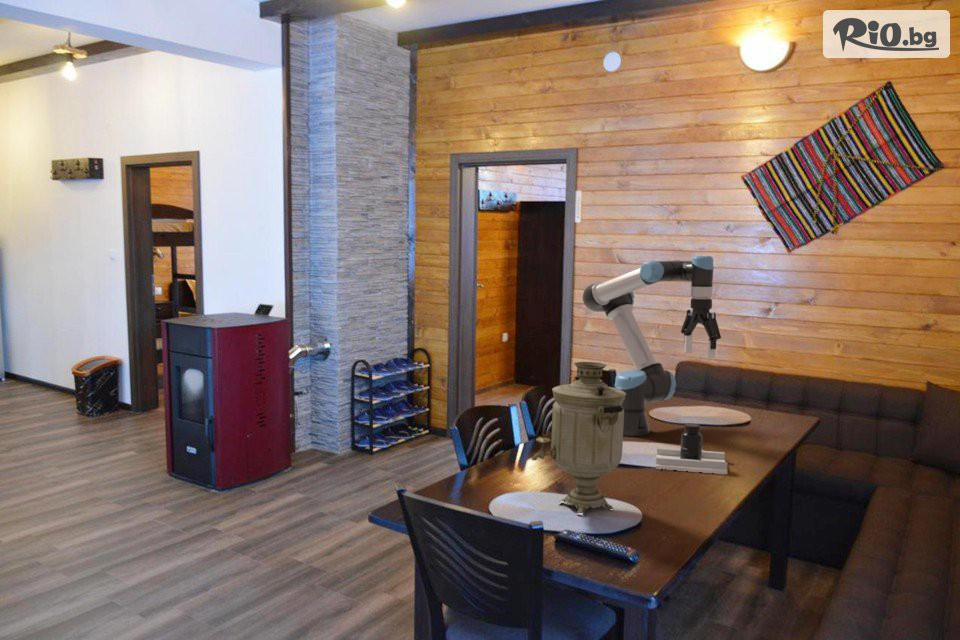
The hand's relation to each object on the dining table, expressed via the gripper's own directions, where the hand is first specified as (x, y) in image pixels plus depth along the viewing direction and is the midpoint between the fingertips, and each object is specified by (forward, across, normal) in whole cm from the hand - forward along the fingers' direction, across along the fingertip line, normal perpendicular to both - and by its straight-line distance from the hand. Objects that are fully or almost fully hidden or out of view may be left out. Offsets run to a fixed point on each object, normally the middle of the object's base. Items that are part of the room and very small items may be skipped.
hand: (699, 355), depth 272 cm
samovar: (+32, -48, +76) cm, 96 cm away
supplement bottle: (+30, -26, +22) cm, 46 cm away
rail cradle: (+32, -26, +22) cm, 47 cm away
